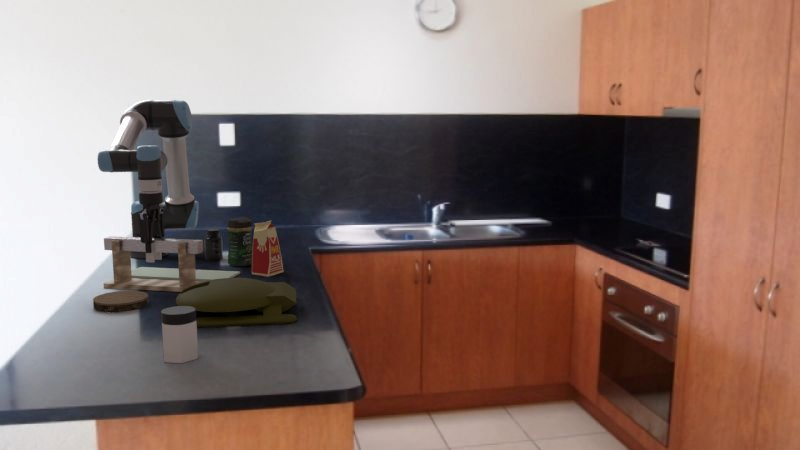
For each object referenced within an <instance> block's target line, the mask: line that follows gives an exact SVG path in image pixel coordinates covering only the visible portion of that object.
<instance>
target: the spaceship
mask: <svg viewBox="0 0 800 450" xmlns="http://www.w3.org/2000/svg"><path fill="white" fill-rule="evenodd" d="M200 282H201V283H197V284H195V285H192V286H190V287H188V288H186V289H184V290H183V291H182V292H180V293H178V295H177V296H176V299H175V304H176V306H191V307H194V308H195V309H196V312H202V313H205V312H206V313H230V312H232V313H233V312H242V311H244V312H245V311H249V310H256V311H257V312H260V313H262V314H254V315H233V316H232V315H231V316H204V317H203V316H202V317H196V322H197V328H213V327H214V328H216V327H239V326H241V327H243V326H244V327H245V326H265V325H270V324H271V325H289V324H290V323H291V324H294V323H296V322H297V320H298V319H297V316H296V315H295V314H291V313H286V311H287V310H289V309H291V307H293V306H294V305H296V304H298V303H297V289H296V288H295V287H293V286H291V285H290V284H288V283H287V282H285V281H283V282H282V281H279V282H266V281H264V280H261V279H259V280H258V279H254V278H249V277H248V278H247V277H233V278H222V279H214V280H208V281H200ZM283 312H285V313H284V314H283Z"/></svg>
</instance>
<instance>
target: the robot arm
mask: <svg viewBox="0 0 800 450" xmlns="http://www.w3.org/2000/svg"><path fill="white" fill-rule="evenodd" d="M119 120H120V121H119V125H120V126H119V129H118V130H117V133H116V134H115V137H114V139H113V140H112V143H111V145H110V147H109V149H103V150H100V151H98V154H97V165H98V169H99V170H100V171H101V172H103V173H137V185H138V186H137V187H138V188H137V189H138V192H139V193H138V200H136V201H133V202H132V203H131V207H130V208H131V209H130V210H131V211H130V215H131V217H130V219H131V229H132V230H131V231H132V237H138V238H141V242H142V243H145V249H146V252H140V251H130V256H131V259H145V262H146V263H155V262H156V261H155V260H157V261H161V260H162V259H163V258H162V257H165V256H167V255H168V254H169V253H163V252H154V243H152V238H165V235H166V233H165V231H166V230H167V231H168V230H169V231H171V230H175V231H177V230H183V231H186V230H193V229H195V228H196V227H197V224H198V220H199V213H200V212H199V210H200V209H199V208H200V206H199V205H200V204H199V201H198V200H195V195H193V194H192V193H191V190H190V189H191V188H190V176H189V166H188V154H187V140H186V138H187V137H188V136H190V131H192V130H193V117H192V112H191V108H190V105H189V104H188V102H187V101H185V100H177V99H155V100H154V99H145V100H141V101H138V102H136V103H134V104H133V105H130V106H128V108H127V109H126V110H125V111H124V112H123V113H122V115H121V117H120V119H119ZM145 131H157V132H158V133H157V135H158V137H159V138H161V140H162V143H163V146H162V147H163V150H161V147H160V146H159V145H153V144H152V145H150V144H149V145H144V144H143V145H138V146H137V147H136V145H137V143H138V142H139V141H138V140H139V138H140V136H141V134H144V133H145ZM135 147H136V149H135ZM164 169H165V174H166V185H167V196H165V198H164V197H163V192H162V191H163V180H162V177H163V176H162V171H163V170H164Z"/></svg>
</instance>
